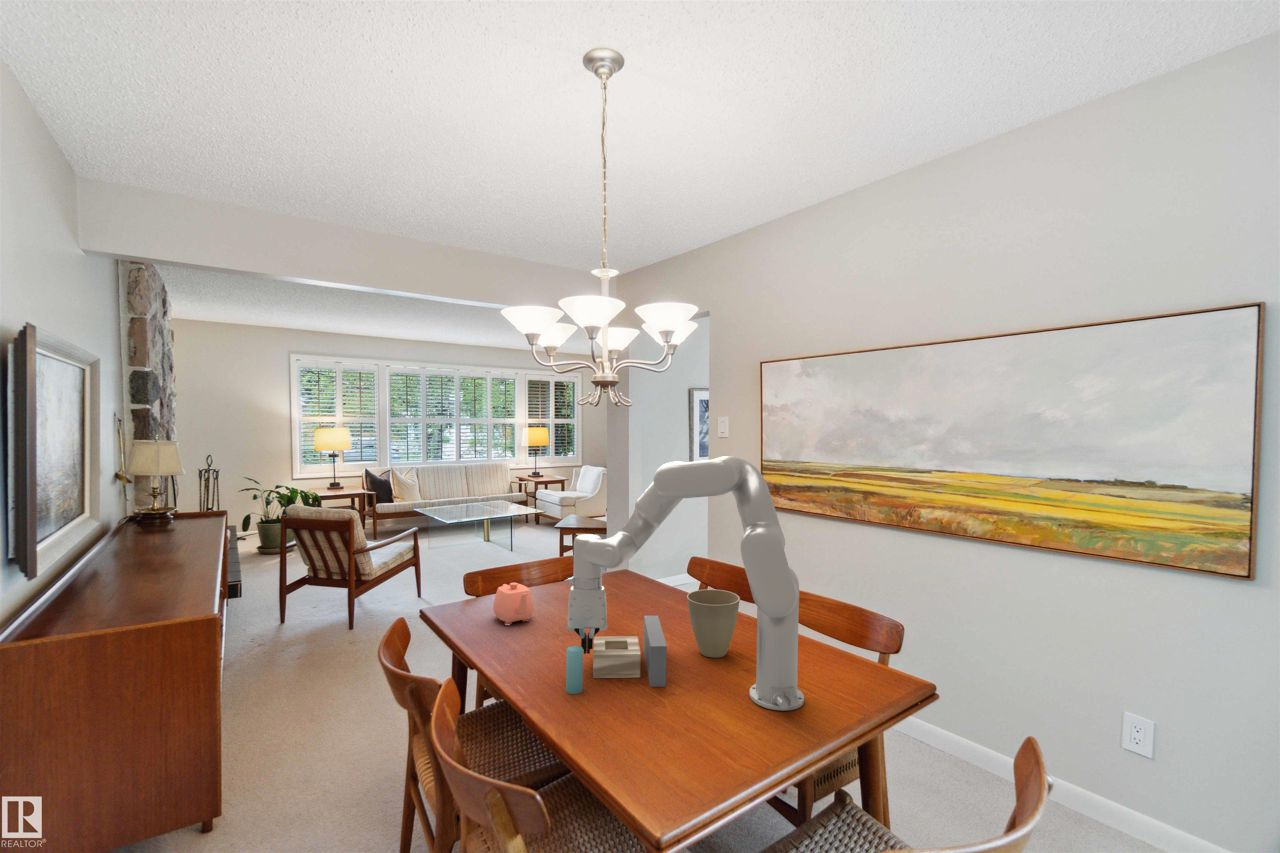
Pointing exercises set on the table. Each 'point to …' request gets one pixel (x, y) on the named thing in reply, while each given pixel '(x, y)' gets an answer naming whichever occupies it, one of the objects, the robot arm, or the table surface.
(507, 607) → the teapot
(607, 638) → the socket block
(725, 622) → the plant pot
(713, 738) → the table surface
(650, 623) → the rail
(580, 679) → the dowel
